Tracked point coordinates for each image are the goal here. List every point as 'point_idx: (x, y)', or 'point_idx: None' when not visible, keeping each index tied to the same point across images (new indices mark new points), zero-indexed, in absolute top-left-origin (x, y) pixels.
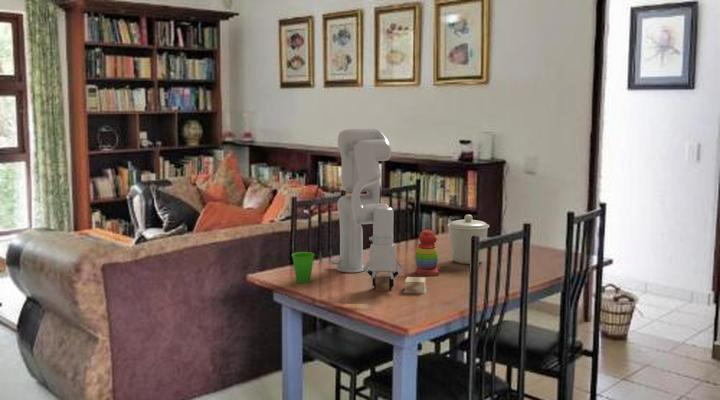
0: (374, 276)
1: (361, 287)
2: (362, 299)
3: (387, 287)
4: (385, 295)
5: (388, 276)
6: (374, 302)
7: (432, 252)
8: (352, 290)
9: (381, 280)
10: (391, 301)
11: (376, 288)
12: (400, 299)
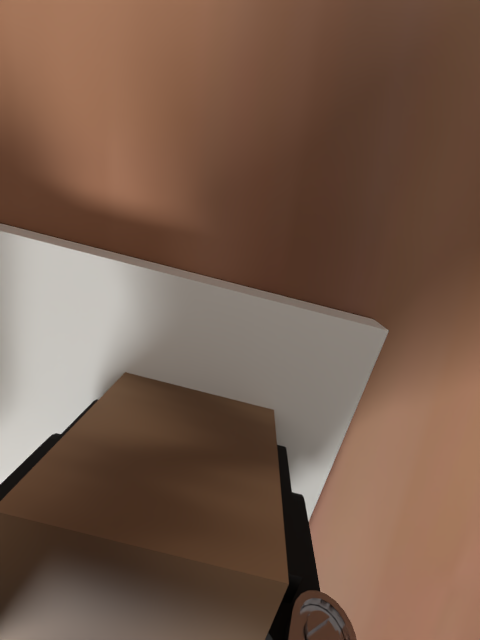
0: (300, 632)
1: (366, 577)
2: (466, 176)
3: (123, 397)
4: None
5: (14, 593)
6: (341, 2)
7: None
8: (473, 512)
9: (175, 492)
10: (113, 46)
11: (263, 422)
12: (10, 141)
